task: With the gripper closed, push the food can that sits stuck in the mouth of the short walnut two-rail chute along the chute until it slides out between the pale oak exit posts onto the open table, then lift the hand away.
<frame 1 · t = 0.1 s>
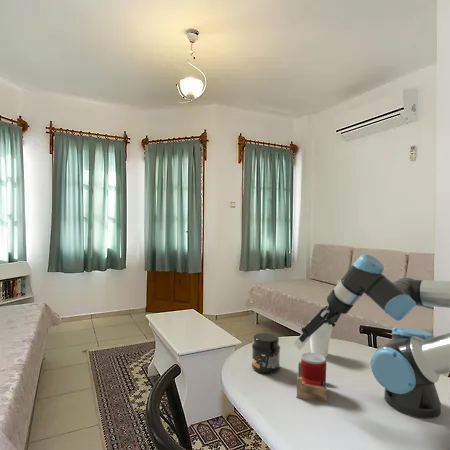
hand: (307, 340, 112), 15 cm above the table, tool tilted 35°, fingers open, 13 cm apart
chute: (311, 389, 109), on the table
foam cup: (319, 355, 136), on the table
supplement container: (265, 368, 124), on the table
canned food: (313, 390, 109), on the table
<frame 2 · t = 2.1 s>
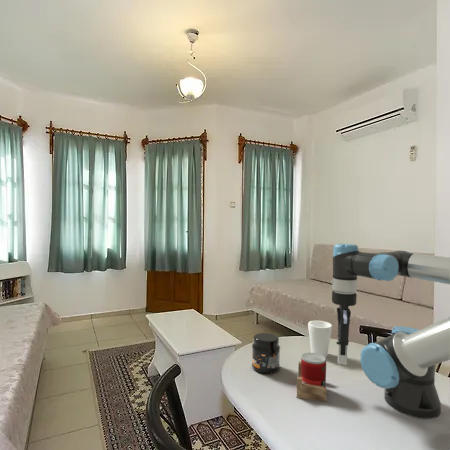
hand: (342, 363, 106), 10 cm above the table, tool pointing down, fingers closed
nothing on the table moved.
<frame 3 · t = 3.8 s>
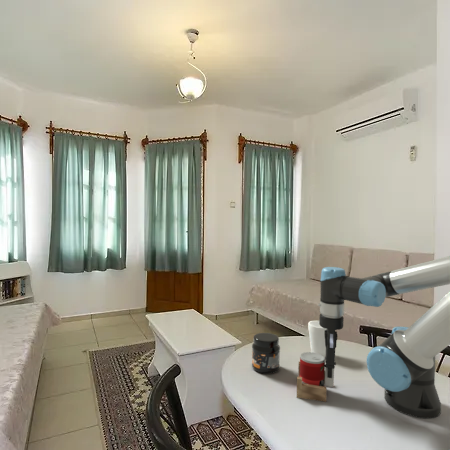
hand: (329, 385, 108), 2 cm above the table, tool pointing down, fingers closed
canned food: (311, 389, 109), on the table, touching gripper
everything else where it was.
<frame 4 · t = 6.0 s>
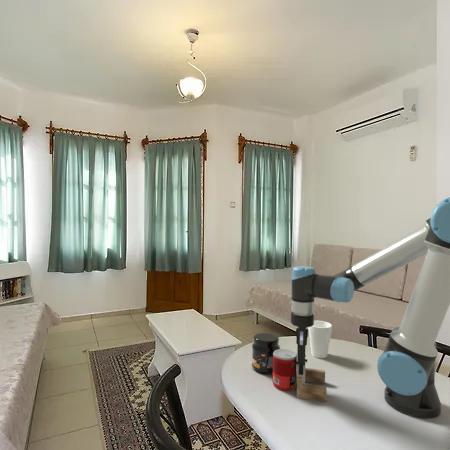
hand: (300, 382, 110), 2 cm above the table, tool pointing down, fingers closed
canned food: (284, 385, 111), on the table, touching gripper
everything else where it was.
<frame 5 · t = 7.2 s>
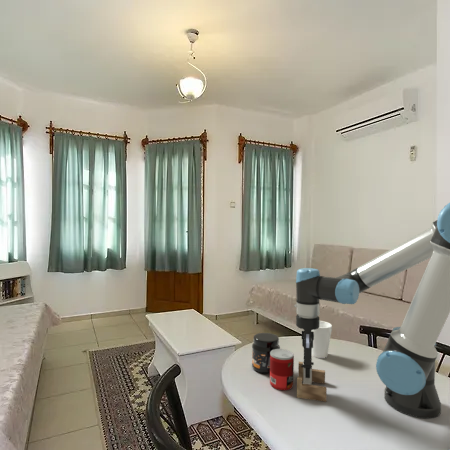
hand: (307, 385, 109), 1 cm above the table, tool pointing down, fingers closed
canned food: (281, 385, 111), on the table
everything else where it was.
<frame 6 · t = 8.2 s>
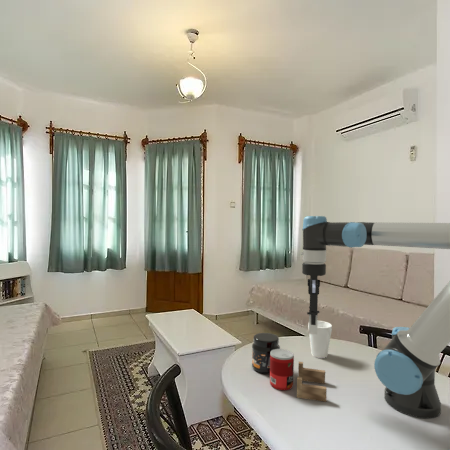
hand: (313, 333, 108), 19 cm above the table, tool pointing down, fingers closed
nothing on the table moved.
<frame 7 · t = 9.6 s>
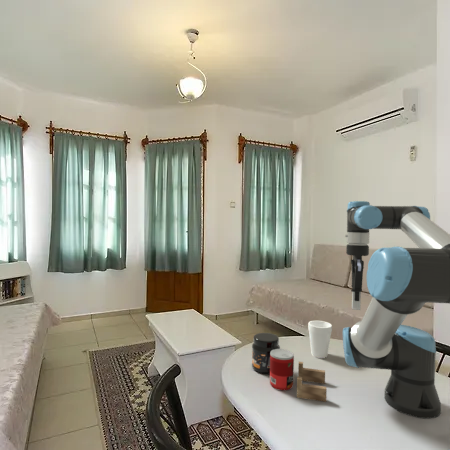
hand: (356, 309, 118), 24 cm above the table, tool pointing down, fingers closed
nothing on the table moved.
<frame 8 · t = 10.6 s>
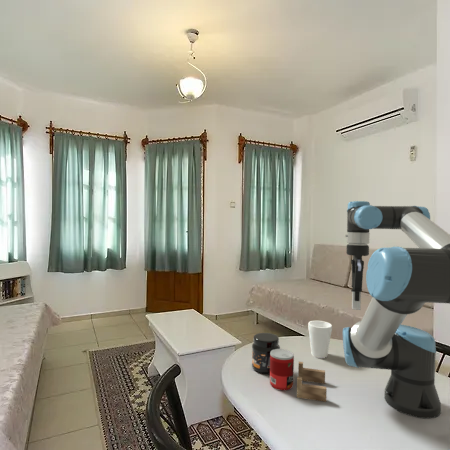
hand: (356, 309, 118), 24 cm above the table, tool pointing down, fingers closed
nothing on the table moved.
at the end: canned food inside the target area on the table beside the chute (3.5 cm from its centre), on the table; canned food tilted 0° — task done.
